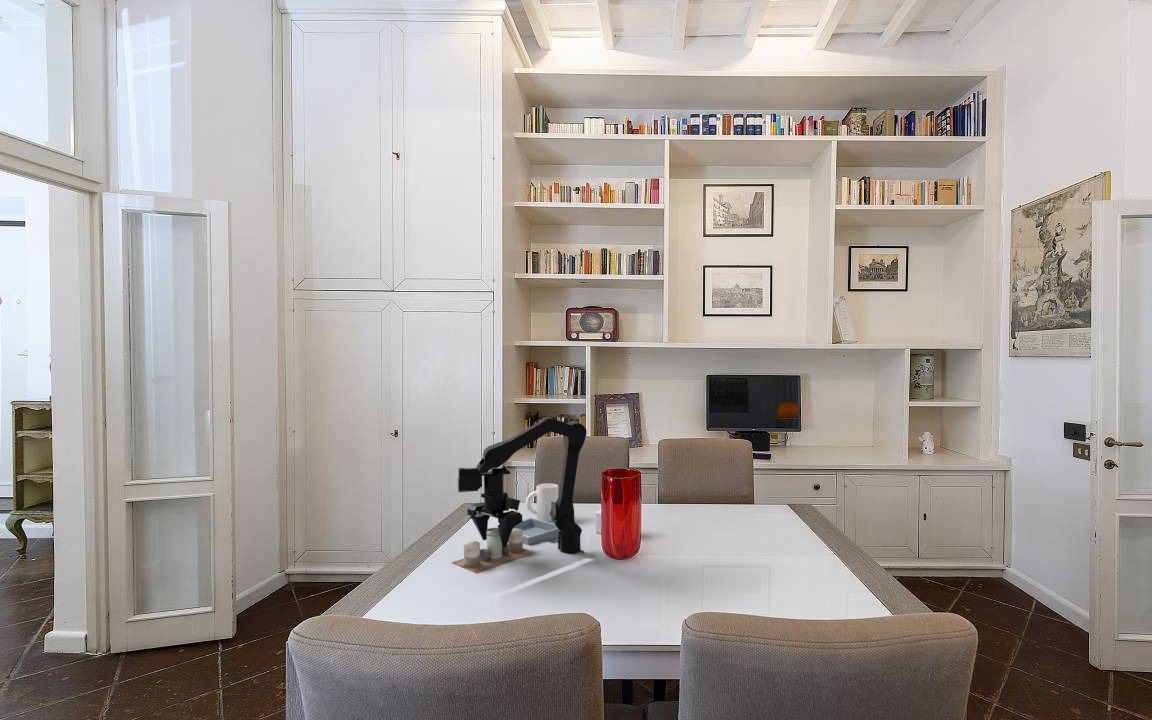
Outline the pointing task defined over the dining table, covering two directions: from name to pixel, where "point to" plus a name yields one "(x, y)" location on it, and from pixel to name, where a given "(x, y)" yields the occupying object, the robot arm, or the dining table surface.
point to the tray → (537, 530)
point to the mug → (543, 500)
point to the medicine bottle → (598, 520)
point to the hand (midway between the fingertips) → (494, 543)
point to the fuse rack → (480, 558)
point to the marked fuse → (494, 543)
